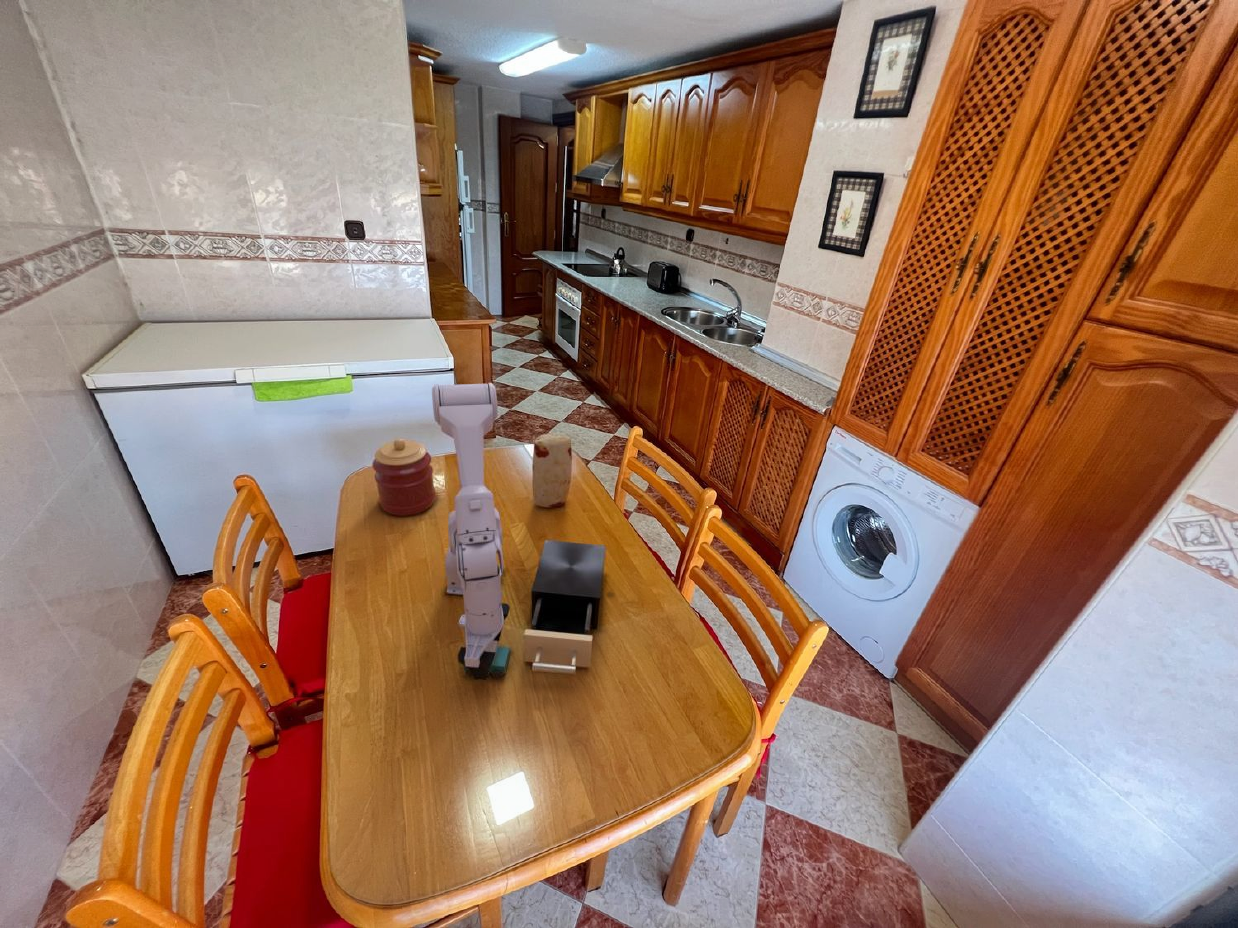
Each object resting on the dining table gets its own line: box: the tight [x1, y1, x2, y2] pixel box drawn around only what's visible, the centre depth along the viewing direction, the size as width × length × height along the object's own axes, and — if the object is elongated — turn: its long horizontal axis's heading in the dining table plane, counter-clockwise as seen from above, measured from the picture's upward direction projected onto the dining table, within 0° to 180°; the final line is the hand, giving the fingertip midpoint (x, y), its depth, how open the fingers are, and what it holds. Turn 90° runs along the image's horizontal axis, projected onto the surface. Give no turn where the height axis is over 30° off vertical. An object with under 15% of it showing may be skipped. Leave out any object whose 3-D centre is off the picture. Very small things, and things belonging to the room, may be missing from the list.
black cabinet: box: [530, 539, 607, 631], centre depth 98 cm, size 15×13×9 cm
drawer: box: [523, 595, 594, 676], centre depth 88 cm, size 18×11×7 cm, turn 177°
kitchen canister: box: [371, 438, 437, 517], centre depth 119 cm, size 13×13×18 cm
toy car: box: [462, 641, 511, 679], centre depth 85 cm, size 7×5×4 cm
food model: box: [531, 433, 573, 508], centre depth 123 cm, size 10×7×20 cm
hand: (487, 658), depth 85 cm, fingers open, 7 cm apart
